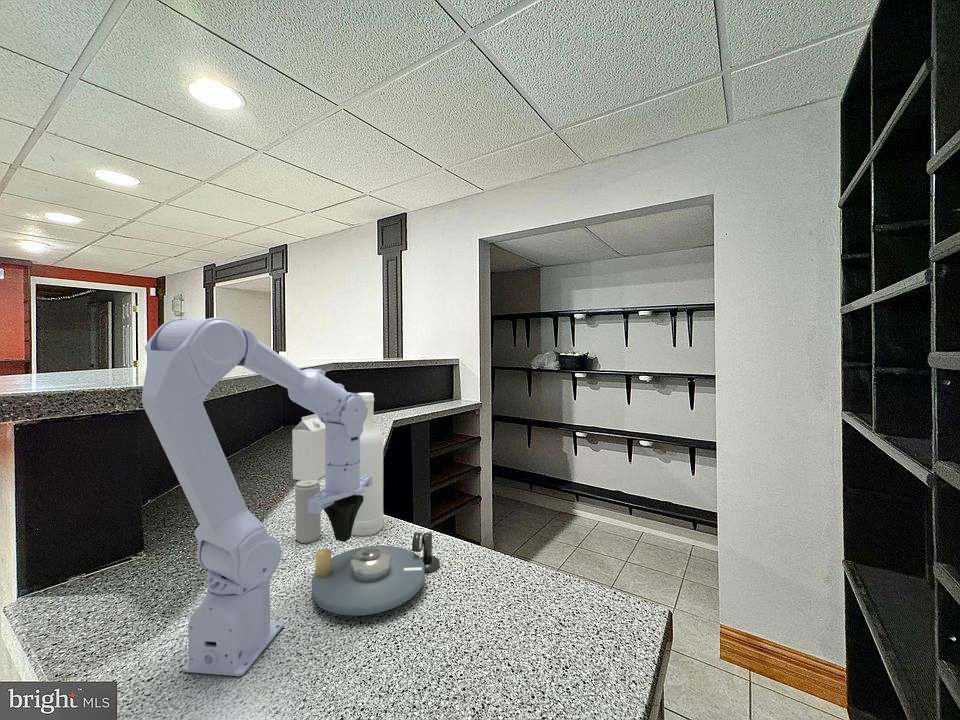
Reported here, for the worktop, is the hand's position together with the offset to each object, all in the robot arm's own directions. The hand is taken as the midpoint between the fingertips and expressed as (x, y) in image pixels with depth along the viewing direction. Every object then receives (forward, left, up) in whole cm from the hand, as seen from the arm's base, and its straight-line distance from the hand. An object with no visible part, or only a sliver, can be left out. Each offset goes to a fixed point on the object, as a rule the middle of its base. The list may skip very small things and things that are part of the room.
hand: (342, 539), depth 72 cm
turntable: (-2, -6, -6) cm, 8 cm away
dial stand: (+6, -14, -7) cm, 16 cm away
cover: (-3, -6, -4) cm, 8 cm away
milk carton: (+52, +32, -7) cm, 61 cm away
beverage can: (+14, +13, -7) cm, 20 cm away
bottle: (+20, +3, -7) cm, 21 cm away
